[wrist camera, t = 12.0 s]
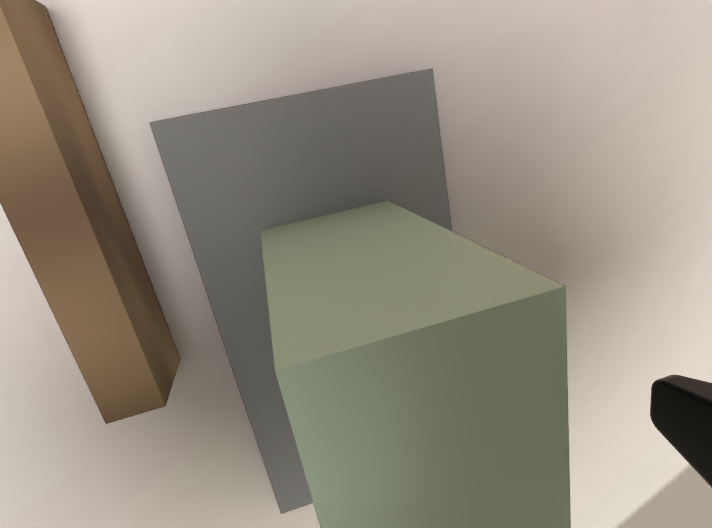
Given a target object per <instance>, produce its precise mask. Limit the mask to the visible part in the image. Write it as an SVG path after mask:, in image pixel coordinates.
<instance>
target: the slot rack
mask: <svg viewBox="0 0 712 528" xmlns="http://www.w3.org/2000/svg"><path fill="white" fill-rule="evenodd" d="M0 203H1V205H2V208H3V210H4V212H5V214H6V216H7V218H8V220H9V222H10V224H11V226H12V228H13V231H14V233H15V235H16V237H17V239H18V241H19V243H20V245H21V247H22V249H23V251H24V254H25V256H26V258H27V260H28V262H29V264H30V266H31V268H32V270H33V272H34V274H35V277H36V279H37V281H38V283H39V285H40V287H41V289H42V291H43V293H44V295H45V298H46V300H47V302H48V304H49V306H50V308H51V310H52V312H53V314H54V316H55V318H56V321H57V323H58V325H59V327H60V329H61V331H62V333H63V335H64V337H65V339H66V341H67V344H68V346H69V348H70V350H71V352H72V354H73V356H74V358H75V360H76V362H77V364H78V367H79V369H80V371H81V373H82V375H83V377H84V379H85V381H86V383H87V385H88V387H89V390H90V392H91V394H92V396H93V398H94V400H95V402H96V404H97V406H98V408H99V410H100V413H101V415H102V417H103V419H104V421H105V423H106V424H107V423H111V422H114V421H117V420H121V419H124V418H127V417H131V416H134V415H138V414H141V413H144V412H148V411H151V410H154V409H158V408H161V407H164V406H166V403H167V400H168V397H169V393H170V390H171V387H172V384H173V381H174V377H175V374H176V371H177V368H178V365H179V361H180V358H179V355H178V353H177V350H176V347H175V345H174V342H173V340H172V337H171V334H170V332H169V329H168V326H167V324H166V321H165V319H164V316H163V313H162V311H161V308H160V305H159V303H158V300H157V298H156V295H155V292H154V290H153V287H152V285H151V282H150V279H149V277H148V274H147V271H146V269H145V266H144V264H143V261H142V258H141V256H140V253H139V250H138V248H137V245H136V243H135V240H134V237H133V235H132V232H131V230H130V227H129V224H128V222H127V219H126V216H125V214H124V211H123V209H122V206H121V203H120V201H119V198H118V196H117V193H116V190H115V188H114V185H113V182H112V180H111V177H110V175H109V172H108V169H107V167H106V164H105V161H104V159H103V156H102V154H101V151H100V148H99V146H98V143H97V141H96V138H95V135H94V133H93V130H92V127H91V125H90V122H89V120H88V117H87V114H86V112H85V109H84V106H83V104H82V101H81V99H80V96H79V93H78V91H77V88H76V86H75V83H74V80H73V78H72V75H71V72H70V70H69V67H68V65H67V62H66V59H65V57H64V54H63V51H62V49H61V46H60V44H59V41H58V38H57V36H56V33H55V31H54V28H53V25H52V23H51V20H50V17H49V15H48V12H47V10H46V7H45V6H44V5H42V4H41V3H39V2H37V1H36V0H0Z"/></svg>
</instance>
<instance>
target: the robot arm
mask: <svg viewBox="0 0 712 528" xmlns="http://www.w3.org/2000/svg"><path fill="white" fill-rule="evenodd" d="M650 416H651V420H652V422H653V424H654V425H655V427H656V428H657V429H658V430H659V432H660V433H661V434H662V435H663V436H664V437H665V438H666V439H667V440H668V441H669V442H670V443H671V444H672V445H673V447H674V448H675V449H676V450H677V451H678V452H679V453H680V454H681V455H682V456H683V457H684V458H685V459H686V460H687V462H688V463H689V464H690V465H691V466H692V467H693V468H694V469H695V470H696V471H697V472H698V473H699V474H700V475H701V476H702V477H703V478H704V480H705V481H706V482H707V483H708V484H709V485H710V486H711V487H712V383H709V382H705V381H701V380H697V379H692V378H688V377H684V376H680V375H670V376H667V377H664V378H661V379H658V380H656V381H654V383H653V384H652V388H651V407H650Z"/></svg>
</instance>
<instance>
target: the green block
mask: <svg viewBox="0 0 712 528" xmlns="http://www.w3.org/2000/svg"><path fill="white" fill-rule="evenodd" d="M260 233H261V243H262V252H263V262H264V271H265V280H266V290H267V299H268V309H269V318H270V328H271V337H272V347H273V356H274V366H275V372H276V376H277V379H278V383H279V386H280V390H281V393H282V397H283V400H284V403H285V407H286V410H287V414H288V417H289V421H290V424H291V427H292V431H293V434H294V438H295V441H296V445H297V448H298V452H299V455H300V458H301V462H302V465H303V469H304V472H305V476H306V479H307V483H308V486H309V489H310V493H311V496H312V500H313V503H314V507H315V510H316V513H317V517H318V520H319V524H320V527H321V528H571V520H570V474H569V428H568V382H567V337H566V291H565V286H564V285H562V284H560V283H558V282H556V281H554V280H551V279H549V278H547V277H545V276H543V275H541V274H539V273H537V272H535V271H533V270H531V269H529V268H527V267H524V266H522V265H520V264H518V263H516V262H514V261H512V260H510V259H508V258H506V257H504V256H502V255H500V254H497V253H495V252H493V251H491V250H489V249H487V248H485V247H483V246H481V245H479V244H477V243H475V242H473V241H470V240H468V239H466V238H464V237H462V236H460V235H458V234H456V233H454V232H452V231H450V230H448V229H446V228H443V227H441V226H439V225H437V224H435V223H433V222H431V221H429V220H427V219H425V218H423V217H421V216H419V215H416V214H414V213H412V212H410V211H408V210H406V209H404V208H402V207H400V206H398V205H396V204H394V203H392V202H390V201H384V202H380V203H375V204H371V205H367V206H363V207H358V208H354V209H350V210H346V211H341V212H337V213H333V214H329V215H324V216H320V217H316V218H312V219H307V220H303V221H299V222H295V223H290V224H286V225H282V226H278V227H273V228H269V229H265V230H261V231H260Z"/></svg>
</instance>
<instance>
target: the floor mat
mask: <svg viewBox="0 0 712 528" xmlns="http://www.w3.org/2000/svg"><path fill="white" fill-rule="evenodd" d="M150 126H151V129H152V132H153V135H154V138H155V141H156V144H157V147H158V150H159V153H160V156H161V159H162V162H163V165H164V168H165V171H166V174H167V176H168V179H169V182H170V185H171V188H172V191H173V194H174V197H175V200H176V203H177V206H178V209H179V212H180V215H181V218H182V221H183V224H184V227H185V230H186V233H187V236H188V239H189V242H190V245H191V248H192V251H193V254H194V257H195V260H196V263H197V266H198V268H199V271H200V274H201V277H202V280H203V283H204V286H205V289H206V292H207V295H208V298H209V301H210V304H211V307H212V310H213V313H214V316H215V319H216V322H217V325H218V328H219V331H220V334H221V337H222V340H223V343H224V346H225V349H226V352H227V355H228V358H229V360H230V363H231V366H232V369H233V372H234V375H235V378H236V381H237V384H238V387H239V390H240V393H241V396H242V399H243V402H244V405H245V408H246V411H247V414H248V417H249V420H250V423H251V426H252V429H253V432H254V435H255V438H256V441H257V444H258V447H259V449H260V452H261V455H262V458H263V461H264V464H265V467H266V470H267V473H268V476H269V479H270V482H271V485H272V488H273V491H274V494H275V497H276V500H277V503H278V506H279V509H280V512H281V514H282V513H285V512H288V511H291V510H294V509H296V508H299V507H302V506H305V505H308V504H311V503H313V500H312V496H311V493H310V489H309V486H308V483H307V479H306V476H305V472H304V469H303V465H302V462H301V458H300V455H299V452H298V448H297V445H296V441H295V438H294V434H293V431H292V427H291V424H290V421H289V417H288V414H287V410H286V407H285V403H284V400H283V397H282V393H281V390H280V386H279V383H278V379H277V376H276V372H275V366H274V356H273V347H272V337H271V328H270V318H269V309H268V299H267V290H266V280H265V271H264V262H263V252H262V243H261V233H260V231H261V230H265V229H269V228H273V227H278V226H282V225H286V224H290V223H295V222H299V221H303V220H307V219H312V218H316V217H320V216H324V215H329V214H333V213H337V212H341V211H346V210H350V209H354V208H358V207H363V206H367V205H371V204H375V203H380V202H384V201H390V202H392V203H394V204H396V205H398V206H400V207H402V208H404V209H406V210H408V211H410V212H412V213H414V214H416V215H419V216H421V217H423V218H425V219H427V220H429V221H431V222H433V223H435V224H437V225H439V226H441V227H443V228H446V229H448V230H450V231H452V228H451V220H450V211H449V203H448V194H447V186H446V178H445V169H444V161H443V152H442V144H441V136H440V127H439V119H438V111H437V102H436V94H435V85H434V77H433V69H427V70H422V71H416V72H411V73H406V74H401V75H396V76H390V77H385V78H380V79H375V80H369V81H364V82H359V83H354V84H348V85H343V86H338V87H333V88H328V89H322V90H317V91H312V92H307V93H301V94H296V95H291V96H286V97H280V98H275V99H270V100H265V101H260V102H254V103H249V104H244V105H239V106H233V107H228V108H223V109H218V110H213V111H207V112H202V113H197V114H192V115H186V116H181V117H176V118H171V119H165V120H160V121H155V122H150Z"/></svg>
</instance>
